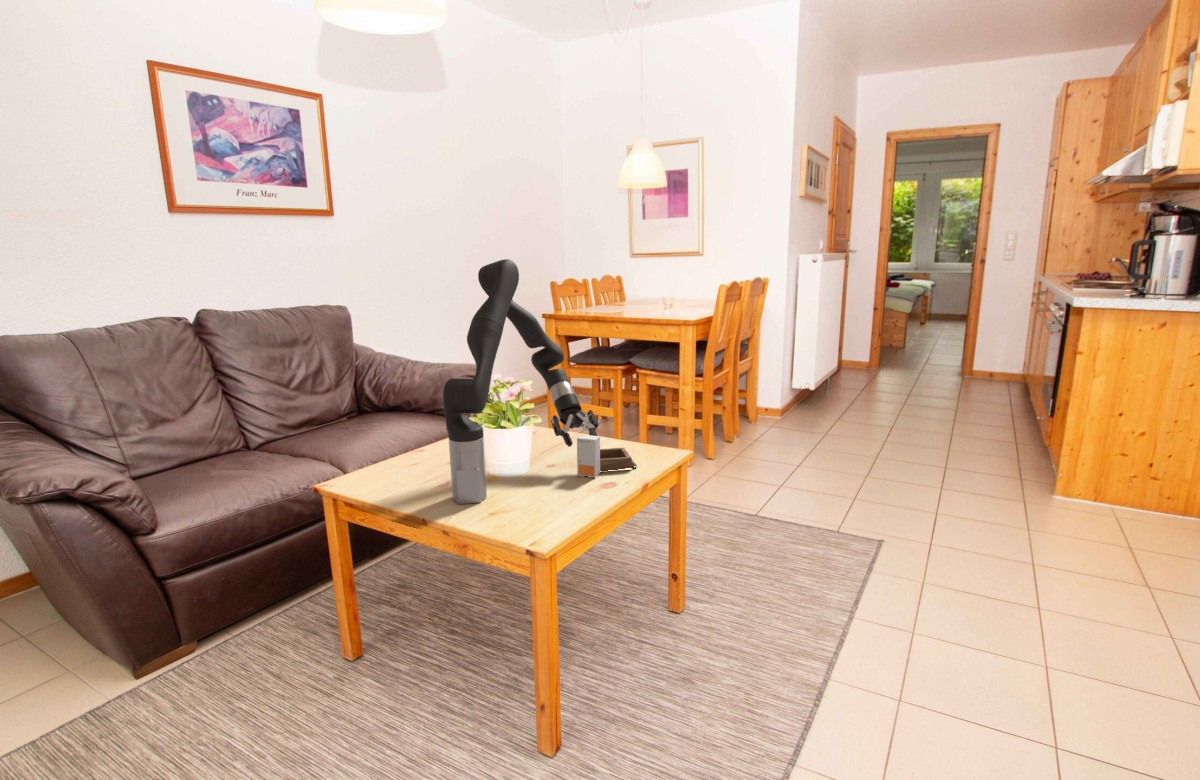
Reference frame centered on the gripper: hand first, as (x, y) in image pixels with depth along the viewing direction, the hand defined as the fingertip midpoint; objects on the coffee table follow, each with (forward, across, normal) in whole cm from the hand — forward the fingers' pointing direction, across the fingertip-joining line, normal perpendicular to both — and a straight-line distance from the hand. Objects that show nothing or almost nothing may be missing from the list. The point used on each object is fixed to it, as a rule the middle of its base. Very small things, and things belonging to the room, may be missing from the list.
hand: (583, 443), depth 191 cm
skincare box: (+9, 0, +4) cm, 10 cm away
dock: (+6, +11, +7) cm, 14 cm away
